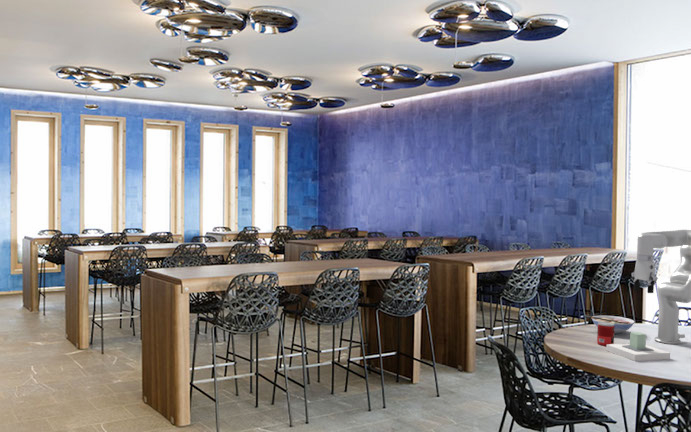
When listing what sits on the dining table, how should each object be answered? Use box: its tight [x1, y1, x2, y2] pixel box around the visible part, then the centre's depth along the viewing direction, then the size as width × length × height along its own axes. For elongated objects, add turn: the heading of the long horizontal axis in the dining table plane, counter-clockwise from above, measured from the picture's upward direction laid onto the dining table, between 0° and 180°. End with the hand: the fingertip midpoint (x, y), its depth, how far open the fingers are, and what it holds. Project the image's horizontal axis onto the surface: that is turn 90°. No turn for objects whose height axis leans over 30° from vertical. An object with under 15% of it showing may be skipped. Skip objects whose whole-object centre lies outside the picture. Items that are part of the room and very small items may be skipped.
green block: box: [629, 331, 647, 349], centre depth 307 cm, size 5×5×7 cm
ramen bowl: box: [584, 315, 636, 335], centre depth 357 cm, size 25×23×8 cm
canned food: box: [596, 322, 615, 347], centre depth 327 cm, size 8×8×11 cm
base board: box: [605, 342, 671, 362], centre depth 307 cm, size 20×20×3 cm
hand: (643, 291), depth 325 cm, fingers open, 9 cm apart
